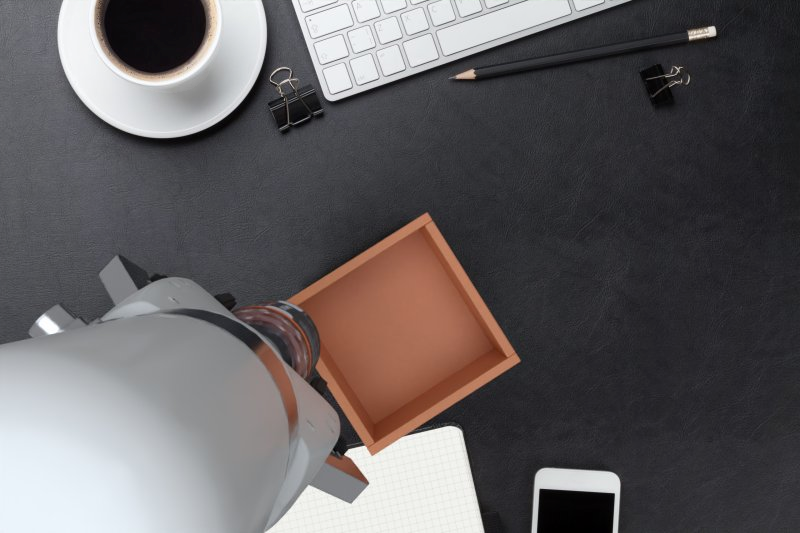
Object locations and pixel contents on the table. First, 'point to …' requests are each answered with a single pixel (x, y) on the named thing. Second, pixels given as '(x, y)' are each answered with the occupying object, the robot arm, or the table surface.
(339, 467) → the robot arm
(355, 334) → the bin
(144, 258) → the table surface
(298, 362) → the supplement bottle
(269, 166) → the table surface
